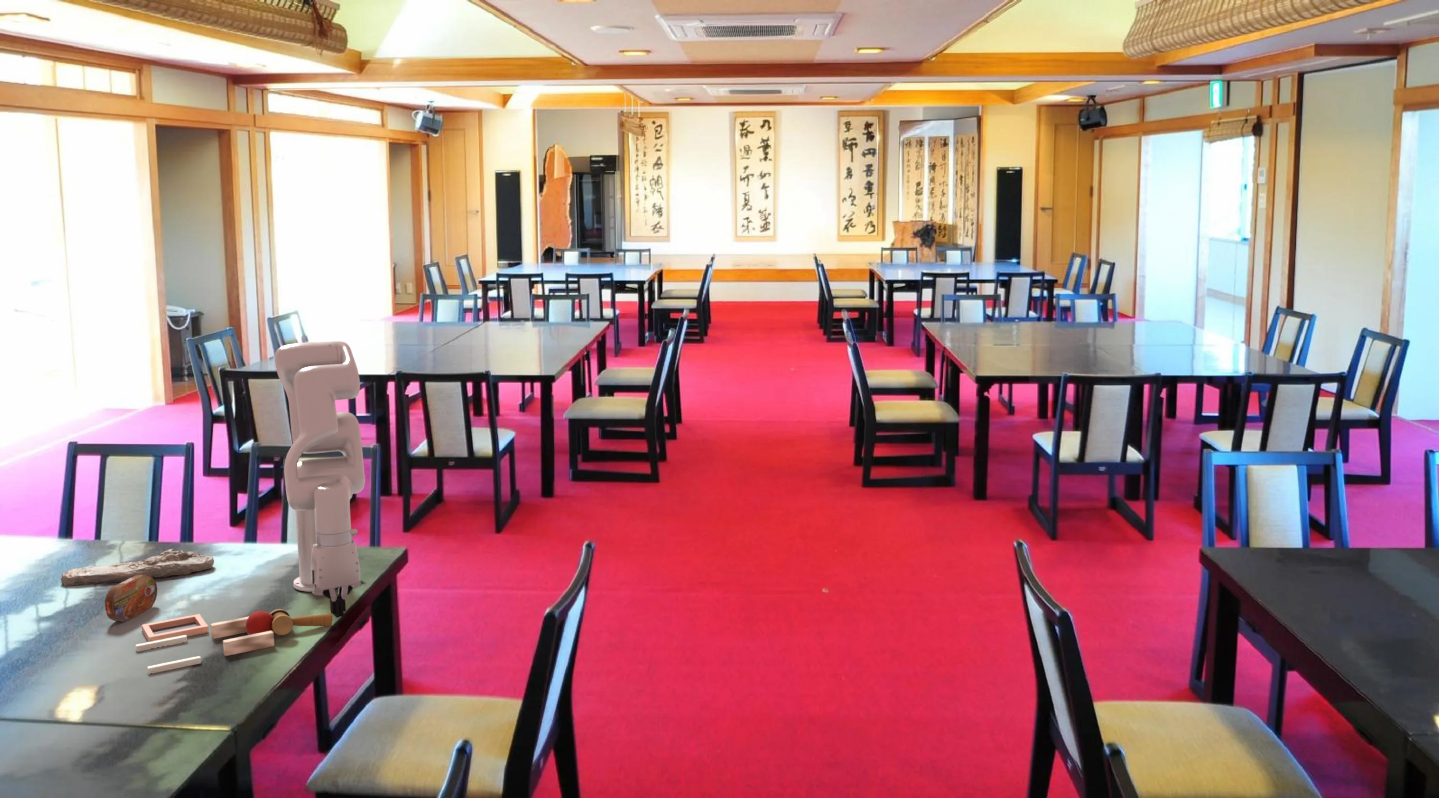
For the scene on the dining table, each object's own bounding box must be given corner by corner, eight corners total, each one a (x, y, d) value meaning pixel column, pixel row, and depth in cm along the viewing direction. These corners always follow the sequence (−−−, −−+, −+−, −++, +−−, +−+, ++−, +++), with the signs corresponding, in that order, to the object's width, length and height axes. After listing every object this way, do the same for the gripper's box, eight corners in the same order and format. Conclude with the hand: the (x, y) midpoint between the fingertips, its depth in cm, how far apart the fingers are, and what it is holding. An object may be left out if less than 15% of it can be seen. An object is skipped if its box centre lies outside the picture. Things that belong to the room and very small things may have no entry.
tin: (116, 627, 269) (112, 591, 268) (103, 626, 270) (100, 590, 268) (159, 604, 284) (156, 569, 282) (148, 603, 284) (145, 569, 283)
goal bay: (186, 639, 262) (185, 634, 261) (201, 663, 249) (200, 657, 249) (135, 649, 256) (135, 644, 256) (148, 674, 244) (148, 668, 244)
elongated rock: (65, 583, 302) (60, 597, 294) (62, 563, 301) (57, 577, 292) (215, 560, 315) (214, 573, 306) (212, 541, 313) (211, 554, 304)
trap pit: (199, 620, 273) (199, 613, 273) (208, 632, 266) (208, 626, 266) (142, 631, 267) (141, 624, 266) (149, 644, 259) (149, 637, 259)
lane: (258, 627, 269) (258, 614, 269) (274, 645, 259) (273, 632, 258) (211, 636, 264) (210, 623, 263) (225, 655, 253) (224, 642, 252)
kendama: (326, 624, 275) (242, 628, 266) (329, 600, 273) (245, 602, 264) (332, 641, 268) (246, 646, 259) (336, 616, 267) (249, 619, 258)
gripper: (361, 528, 276) (365, 604, 280) (295, 539, 268) (300, 617, 271) (372, 536, 270) (376, 613, 274) (305, 547, 262) (310, 627, 265)
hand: (338, 615), depth 272 cm, fingers closed
